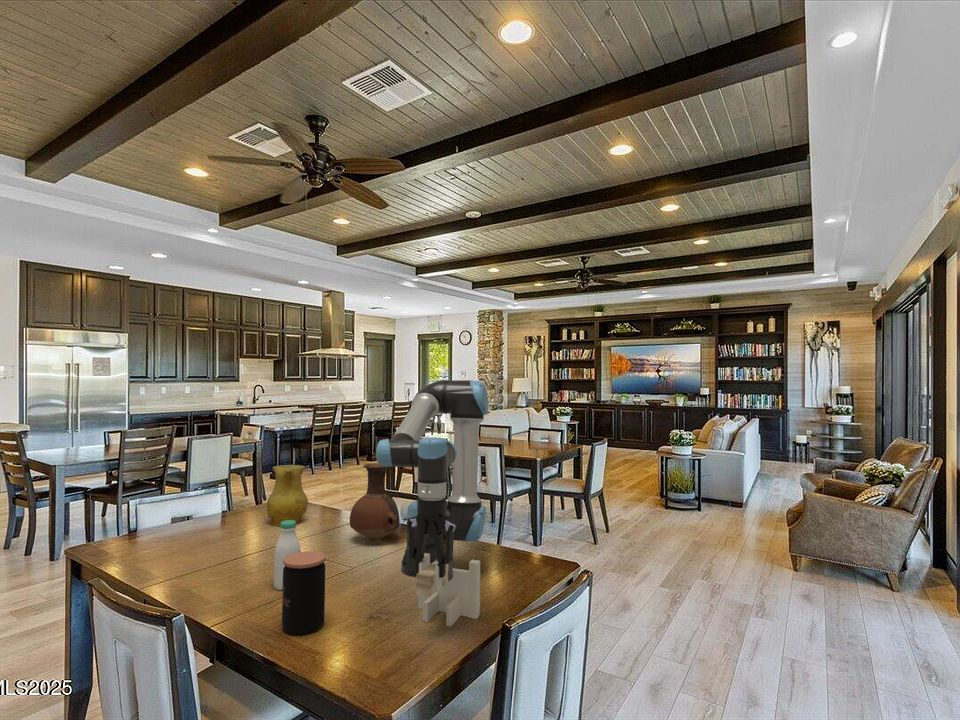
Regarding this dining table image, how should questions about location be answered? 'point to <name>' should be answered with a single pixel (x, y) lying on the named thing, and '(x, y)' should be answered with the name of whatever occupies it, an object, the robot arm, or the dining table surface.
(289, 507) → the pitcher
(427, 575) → the beige wooden block
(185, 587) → the dining table surface
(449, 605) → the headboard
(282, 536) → the milk bottle
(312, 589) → the coffee jar
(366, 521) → the vase
